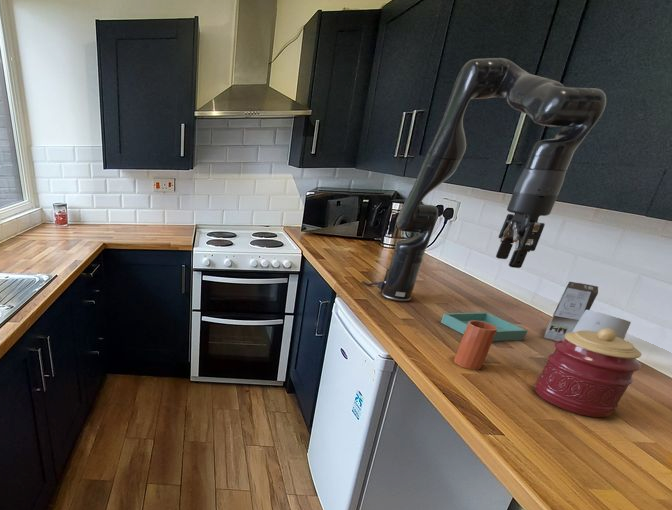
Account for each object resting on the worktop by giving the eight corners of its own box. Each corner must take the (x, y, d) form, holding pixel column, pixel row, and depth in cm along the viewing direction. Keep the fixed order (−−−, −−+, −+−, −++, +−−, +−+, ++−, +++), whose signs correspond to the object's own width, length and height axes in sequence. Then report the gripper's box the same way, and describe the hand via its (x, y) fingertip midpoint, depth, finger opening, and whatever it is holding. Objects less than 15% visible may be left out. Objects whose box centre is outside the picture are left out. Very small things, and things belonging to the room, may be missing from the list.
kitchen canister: (627, 413, 85) (673, 339, 78) (586, 423, 81) (631, 346, 74) (556, 381, 96) (591, 314, 89) (518, 388, 93) (551, 319, 86)
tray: (440, 322, 127) (443, 313, 126) (483, 320, 130) (486, 312, 128) (477, 341, 115) (481, 332, 114) (523, 339, 117) (527, 330, 116)
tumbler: (448, 358, 105) (462, 320, 100) (467, 357, 106) (482, 320, 101) (466, 370, 100) (482, 330, 95) (486, 369, 101) (503, 329, 96)
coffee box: (572, 345, 115) (599, 293, 108) (543, 337, 119) (567, 287, 113) (573, 336, 121) (599, 286, 114) (545, 329, 125) (568, 280, 118)
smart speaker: (615, 364, 105) (643, 315, 100) (600, 372, 101) (629, 321, 96) (569, 348, 113) (592, 302, 107) (554, 355, 109) (577, 307, 103)
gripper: (503, 187, 95) (479, 254, 102) (528, 193, 83) (498, 268, 90) (542, 190, 93) (515, 258, 100) (573, 196, 81) (540, 273, 87)
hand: (507, 262), depth 95 cm, fingers open, 8 cm apart
